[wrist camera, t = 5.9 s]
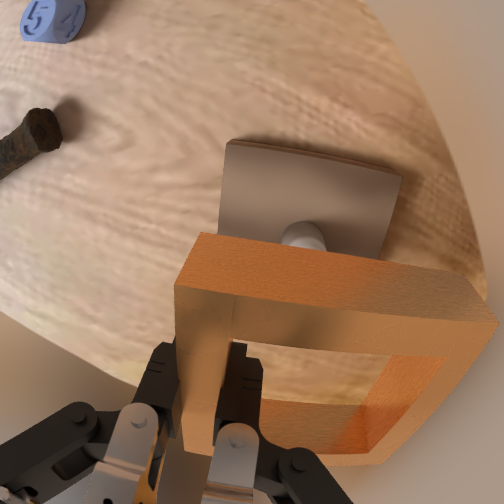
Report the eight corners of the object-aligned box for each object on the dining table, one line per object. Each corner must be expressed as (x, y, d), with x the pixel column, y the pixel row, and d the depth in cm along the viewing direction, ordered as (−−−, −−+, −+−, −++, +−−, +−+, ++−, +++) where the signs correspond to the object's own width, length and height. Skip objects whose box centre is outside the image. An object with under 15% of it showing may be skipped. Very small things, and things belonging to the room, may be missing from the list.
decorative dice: (92, 1, 16) (64, -8, 12) (75, 45, 17) (45, 42, 14) (59, -1, 15) (29, -7, 12) (44, 41, 17) (13, 40, 14)
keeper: (230, 139, 21) (209, 160, 15) (393, 169, 21) (434, 202, 15) (216, 281, 27) (199, 338, 21) (352, 301, 27) (367, 359, 21)
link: (200, 232, 10) (174, 284, 8) (463, 274, 10) (499, 323, 7) (196, 403, 15) (184, 450, 12) (374, 419, 15) (381, 463, 12)
